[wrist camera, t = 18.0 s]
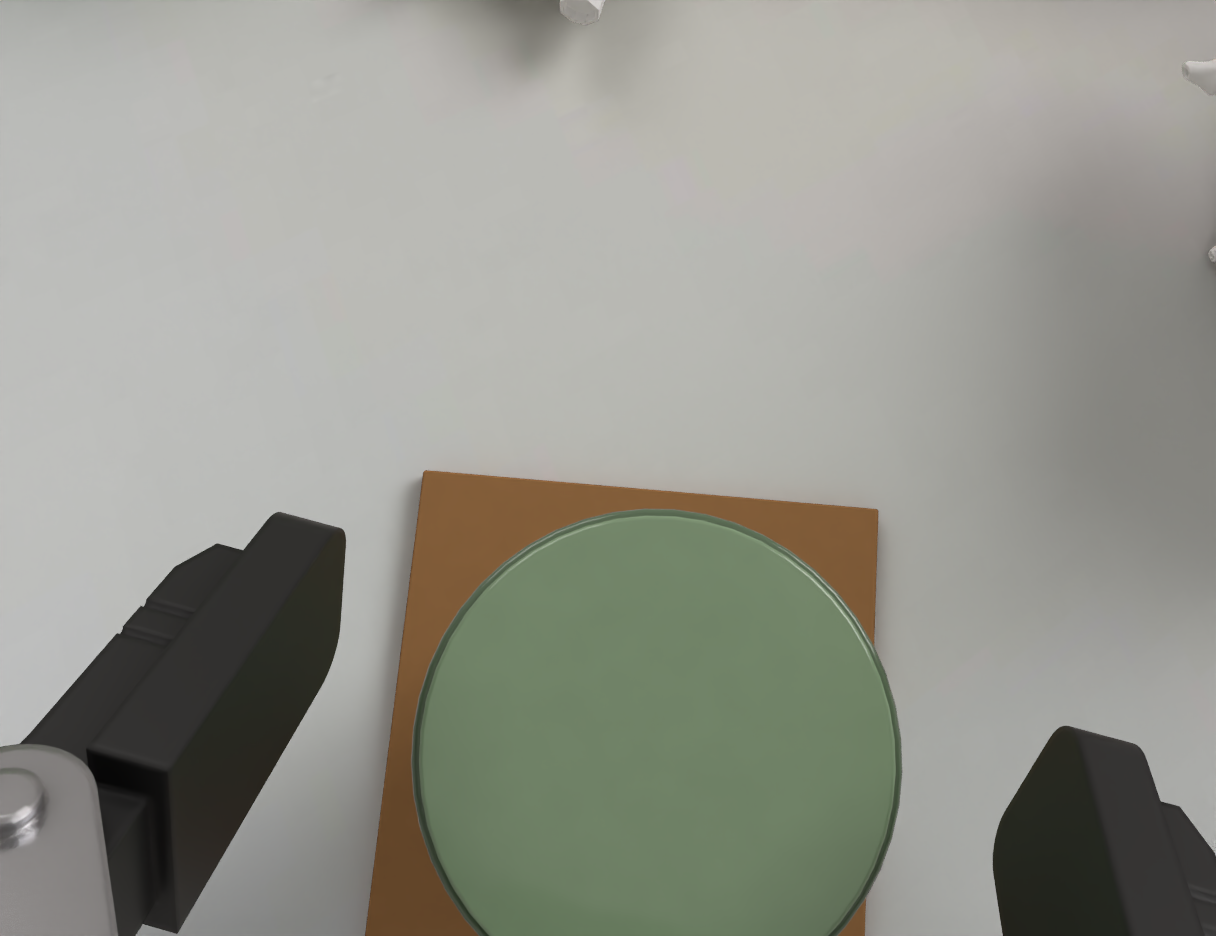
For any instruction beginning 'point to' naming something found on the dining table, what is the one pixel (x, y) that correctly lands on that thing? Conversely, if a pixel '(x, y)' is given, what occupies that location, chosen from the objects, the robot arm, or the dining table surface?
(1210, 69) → the heart
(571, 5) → the spray bottle
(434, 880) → the cork mat
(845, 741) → the canister
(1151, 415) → the dining table surface
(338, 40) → the dining table surface
